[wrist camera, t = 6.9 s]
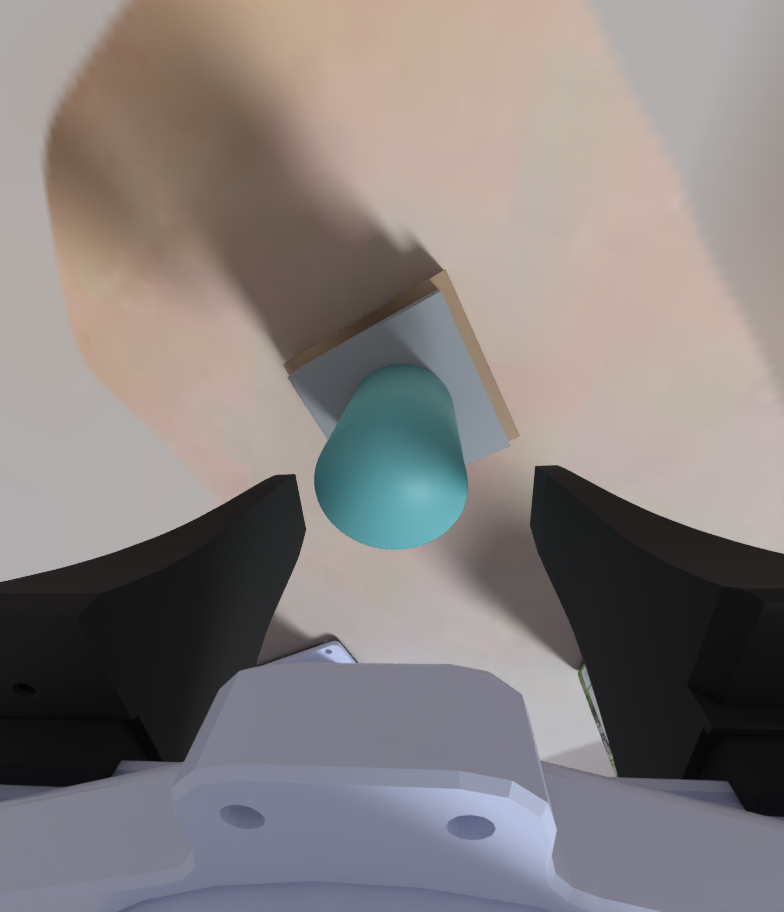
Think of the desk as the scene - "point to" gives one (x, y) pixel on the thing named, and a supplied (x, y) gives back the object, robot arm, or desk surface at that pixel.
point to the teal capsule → (394, 461)
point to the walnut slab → (461, 321)
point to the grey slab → (405, 342)
